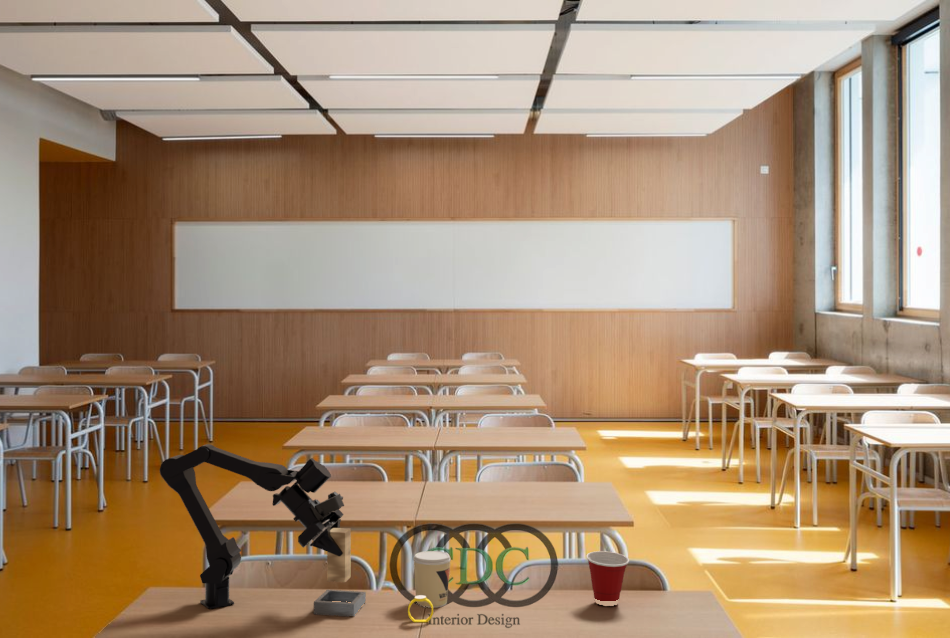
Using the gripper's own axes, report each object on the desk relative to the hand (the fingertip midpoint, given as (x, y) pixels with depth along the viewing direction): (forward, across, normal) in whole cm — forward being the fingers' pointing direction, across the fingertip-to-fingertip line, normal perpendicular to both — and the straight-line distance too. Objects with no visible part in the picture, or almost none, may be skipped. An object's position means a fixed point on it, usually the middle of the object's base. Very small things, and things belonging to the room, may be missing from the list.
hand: (344, 552), depth 214 cm
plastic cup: (+55, +17, -34) cm, 67 cm away
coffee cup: (+24, +9, -4) cm, 26 cm away
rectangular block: (+4, 0, +6) cm, 7 cm away
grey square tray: (+9, 0, +11) cm, 14 cm away
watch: (+24, -5, -4) cm, 25 cm away
